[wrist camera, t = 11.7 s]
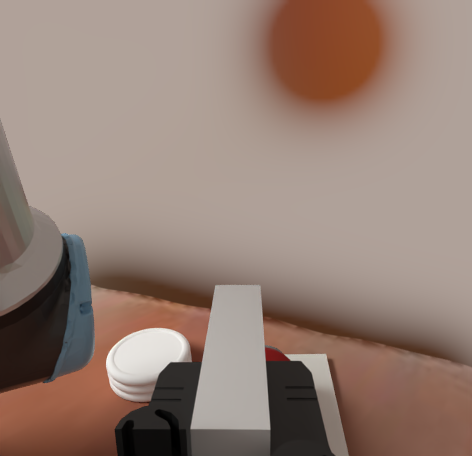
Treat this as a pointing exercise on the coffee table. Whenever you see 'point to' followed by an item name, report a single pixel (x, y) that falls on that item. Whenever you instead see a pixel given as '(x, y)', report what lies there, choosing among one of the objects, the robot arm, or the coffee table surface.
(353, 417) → the coffee table surface
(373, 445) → the coffee table surface
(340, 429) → the mat
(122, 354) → the coaster
